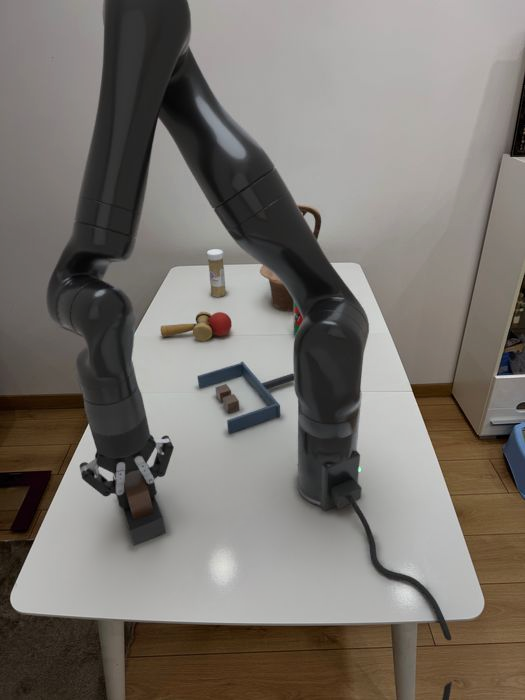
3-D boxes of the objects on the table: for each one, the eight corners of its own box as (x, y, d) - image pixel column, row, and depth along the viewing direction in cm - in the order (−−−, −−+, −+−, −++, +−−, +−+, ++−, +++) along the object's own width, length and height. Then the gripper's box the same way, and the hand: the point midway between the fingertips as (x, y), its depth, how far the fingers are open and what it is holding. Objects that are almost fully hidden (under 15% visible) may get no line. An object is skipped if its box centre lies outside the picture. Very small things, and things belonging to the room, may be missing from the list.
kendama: (162, 350, 122) (232, 338, 121) (155, 326, 120) (227, 314, 118) (168, 339, 129) (234, 328, 128) (162, 317, 127) (229, 305, 126)
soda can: (312, 339, 121) (313, 296, 115) (292, 338, 122) (291, 295, 116) (314, 329, 125) (315, 287, 119) (295, 328, 126) (295, 286, 120)
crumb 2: (239, 410, 99) (238, 400, 98) (228, 413, 98) (227, 404, 97) (234, 403, 101) (233, 393, 99) (223, 407, 100) (222, 397, 99)
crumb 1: (231, 399, 102) (230, 389, 101) (220, 403, 101) (219, 393, 100) (227, 393, 104) (226, 383, 103) (216, 396, 103) (215, 387, 102)
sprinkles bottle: (208, 295, 145) (203, 253, 138) (216, 289, 148) (212, 247, 141) (221, 298, 143) (217, 255, 136) (229, 292, 146) (225, 249, 139)
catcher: (315, 404, 99) (315, 393, 98) (229, 434, 93) (228, 422, 91) (274, 362, 113) (274, 351, 111) (198, 386, 106) (196, 375, 105)
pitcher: (327, 292, 143) (331, 196, 129) (316, 319, 130) (318, 215, 115) (270, 287, 148) (267, 194, 133) (253, 313, 134) (248, 212, 119)
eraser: (166, 532, 74) (157, 495, 70) (133, 546, 73) (123, 508, 68) (149, 488, 82) (141, 451, 78) (119, 498, 80) (109, 461, 76)
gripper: (66, 449, 61) (96, 537, 70) (174, 414, 66) (189, 501, 75) (59, 415, 67) (88, 500, 76) (159, 385, 72) (175, 469, 81)
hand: (138, 500), depth 75 cm, fingers closed on eraser, 3 cm apart
